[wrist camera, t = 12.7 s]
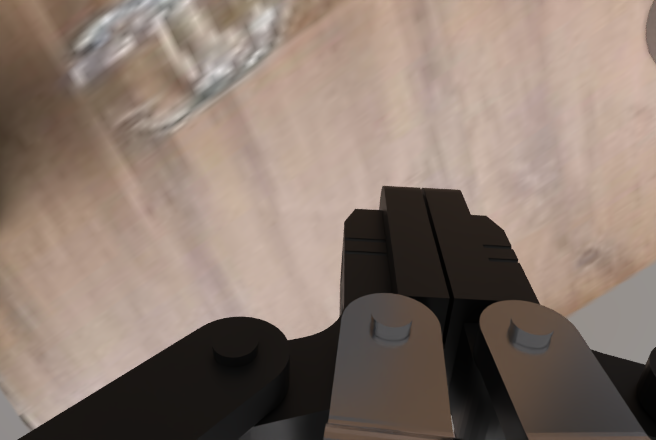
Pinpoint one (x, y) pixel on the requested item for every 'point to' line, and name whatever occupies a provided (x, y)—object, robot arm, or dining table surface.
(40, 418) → the dining table surface
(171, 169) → the dining table surface
